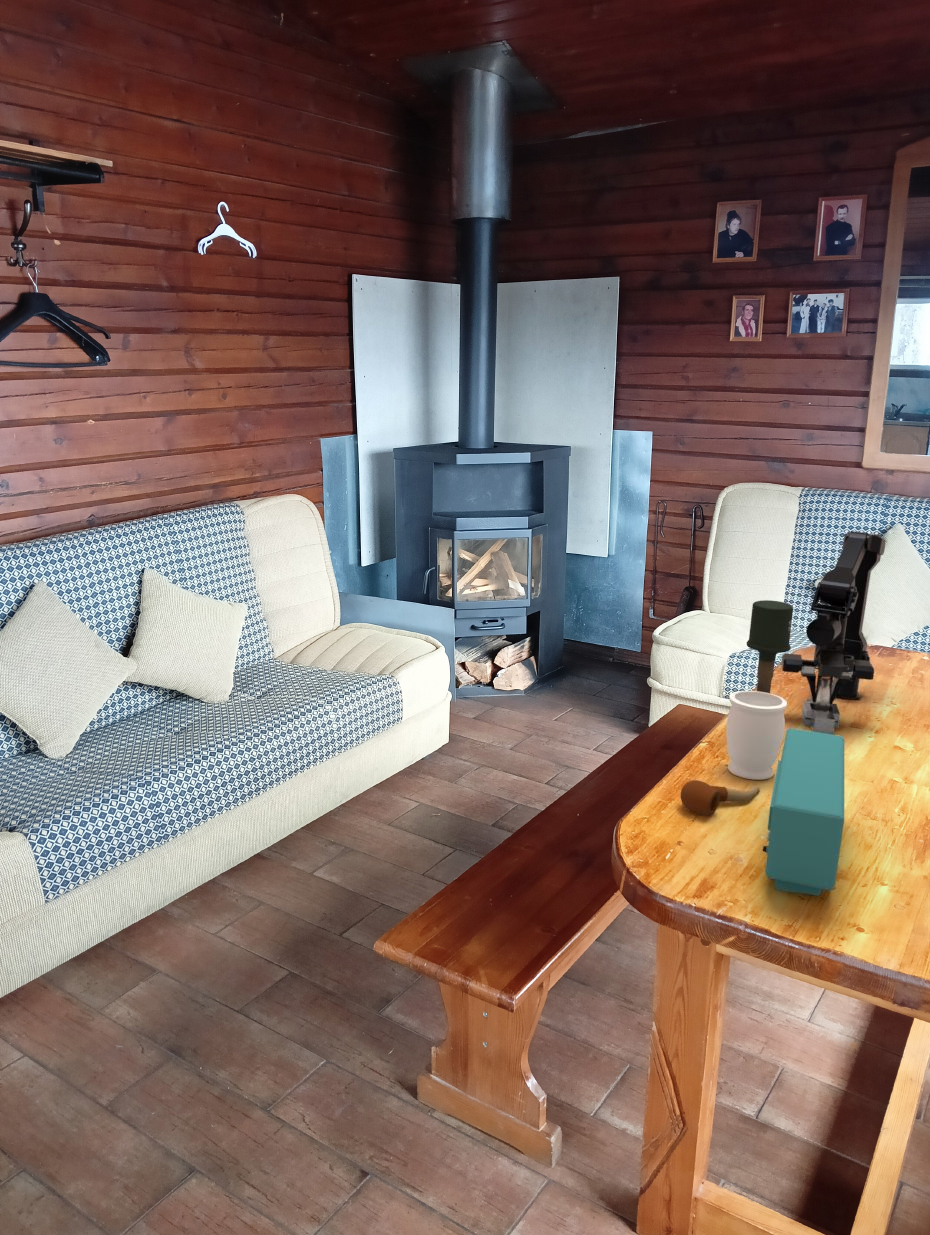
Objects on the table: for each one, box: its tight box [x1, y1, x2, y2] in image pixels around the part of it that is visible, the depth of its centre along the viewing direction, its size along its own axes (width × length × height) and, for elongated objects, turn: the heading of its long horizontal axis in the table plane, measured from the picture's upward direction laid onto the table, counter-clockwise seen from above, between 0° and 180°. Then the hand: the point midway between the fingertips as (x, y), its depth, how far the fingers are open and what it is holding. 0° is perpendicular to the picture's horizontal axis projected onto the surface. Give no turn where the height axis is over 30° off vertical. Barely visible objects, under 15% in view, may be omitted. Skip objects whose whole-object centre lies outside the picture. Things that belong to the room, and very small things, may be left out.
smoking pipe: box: [680, 779, 761, 817], centre depth 168 cm, size 7×18×6 cm, turn 129°
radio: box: [762, 728, 845, 896], centre depth 150 cm, size 34×10×15 cm, turn 159°
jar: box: [725, 690, 788, 781], centre depth 180 cm, size 11×10×15 cm
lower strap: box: [801, 697, 840, 731], centre depth 214 cm, size 16×7×2 cm, turn 165°
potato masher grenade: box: [746, 599, 794, 694], centre depth 193 cm, size 8×9×30 cm
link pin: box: [814, 673, 834, 711], centre depth 208 cm, size 3×3×10 cm
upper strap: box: [802, 700, 841, 735], centre depth 208 cm, size 11×7×4 cm, turn 165°
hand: (822, 703), depth 209 cm, fingers closed on link pin, 3 cm apart
